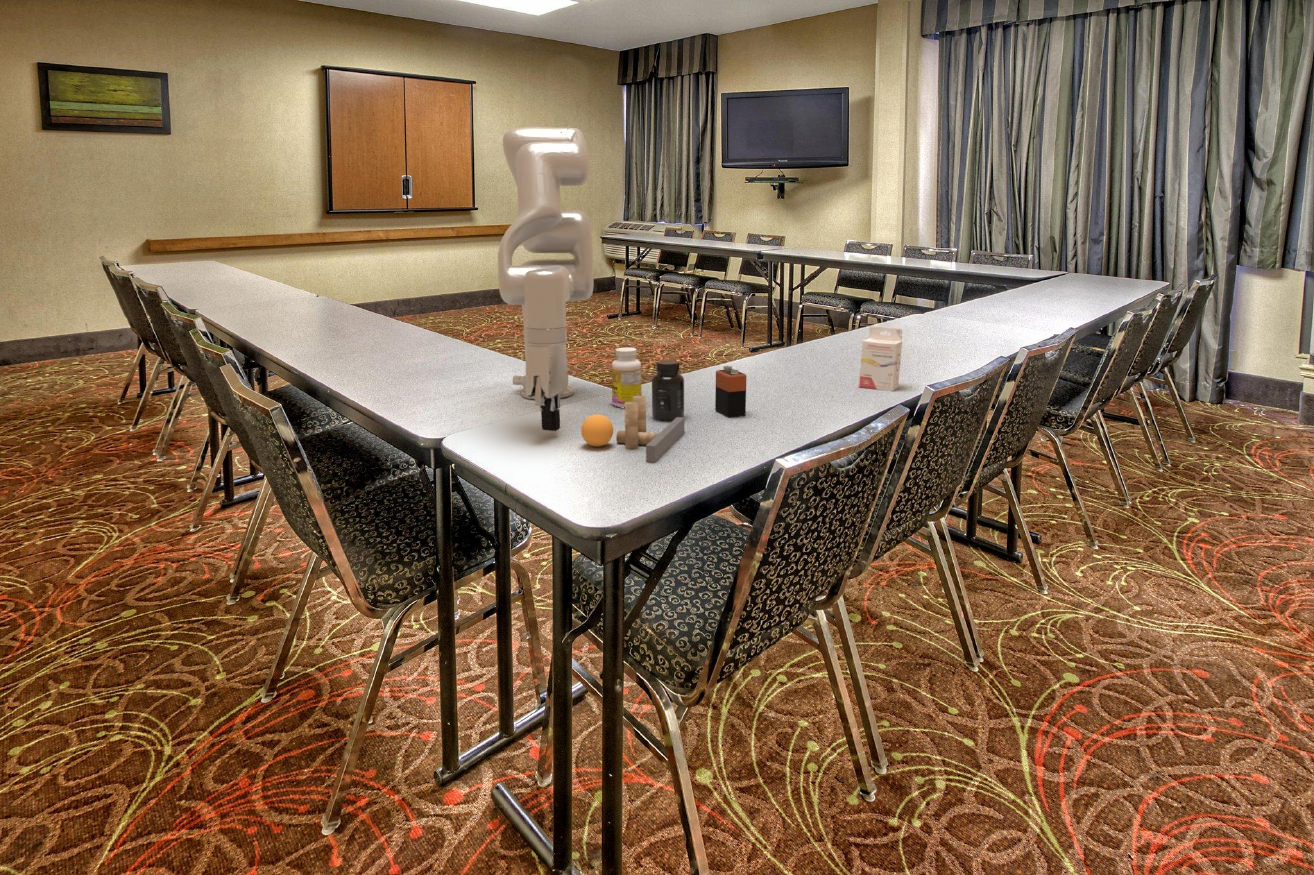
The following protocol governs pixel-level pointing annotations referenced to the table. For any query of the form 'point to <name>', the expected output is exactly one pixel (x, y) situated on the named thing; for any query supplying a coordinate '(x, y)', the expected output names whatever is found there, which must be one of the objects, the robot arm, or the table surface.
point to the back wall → (664, 440)
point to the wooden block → (642, 437)
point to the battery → (730, 392)
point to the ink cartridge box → (881, 359)
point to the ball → (597, 430)
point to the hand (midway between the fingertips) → (551, 429)
